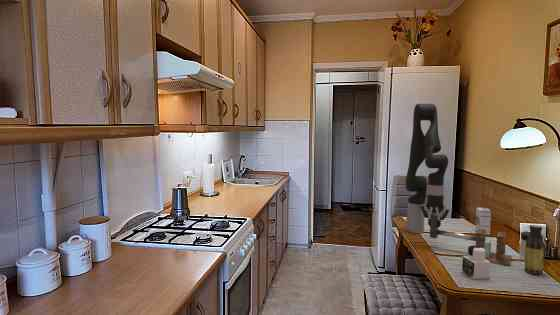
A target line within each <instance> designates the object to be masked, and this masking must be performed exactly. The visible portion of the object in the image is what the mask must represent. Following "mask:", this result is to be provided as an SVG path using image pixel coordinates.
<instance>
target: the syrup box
mask: <svg viewBox="0 0 560 315" xmlns="http://www.w3.org/2000/svg"><path fill="white" fill-rule="evenodd" d="M475 209H476V211H475V212H476V213H475V232H476V233H477V231H478V229H483V230H486V235H489V236H490V234H491V209H489V208H487V207H476V208H475Z"/></svg>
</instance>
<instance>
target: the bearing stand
mask: <svg viewBox="0 0 560 315" xmlns="http://www.w3.org/2000/svg"><path fill="white" fill-rule="evenodd" d="M475 234H476V235H475V236H476V241H475V246H480V247H482V248H484V242H485V240H486V230H483V229H478V231H477V232H476V233H475ZM506 241H507V232H500V231H498V232H497V235H496V247H495V248H496V249H495V251H496V252H493V251H490V256H489V258H486V257H485V259H486V260H488V261H490V264H491V263H492V264H497V265H501V266H506V267H511V266H512V265H511V264H512V255H511V254H510V255H509V254H506V244H507V242H506Z"/></svg>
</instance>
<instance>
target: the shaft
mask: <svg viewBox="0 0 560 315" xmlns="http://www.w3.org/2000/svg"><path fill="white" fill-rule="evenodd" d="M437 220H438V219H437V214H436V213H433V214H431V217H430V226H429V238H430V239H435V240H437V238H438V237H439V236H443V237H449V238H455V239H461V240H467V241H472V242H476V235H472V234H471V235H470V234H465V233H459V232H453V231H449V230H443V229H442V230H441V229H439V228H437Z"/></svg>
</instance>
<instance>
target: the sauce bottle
mask: <svg viewBox="0 0 560 315" xmlns="http://www.w3.org/2000/svg"><path fill="white" fill-rule="evenodd" d="M542 230H543V226H541V225H538V224H530V225H529V232H530V236H529V237H528V239H527V240H526V246H525V261H524V271H525V272H526V273H529V274H532V275H542V274H543V273H544V272H543V270H544V264H545V242H544V239H543V240H542V239H541V235H542Z"/></svg>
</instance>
